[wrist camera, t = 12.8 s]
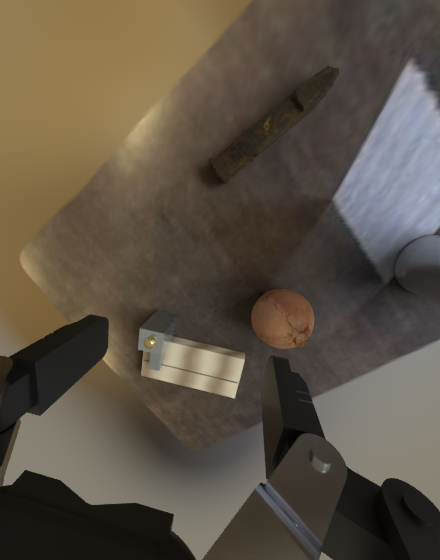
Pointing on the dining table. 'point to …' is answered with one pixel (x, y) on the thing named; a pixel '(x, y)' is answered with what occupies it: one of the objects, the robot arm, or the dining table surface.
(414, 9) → the dining table surface
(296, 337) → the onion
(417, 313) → the dining table surface
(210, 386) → the board
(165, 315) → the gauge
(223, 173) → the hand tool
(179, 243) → the dining table surface
